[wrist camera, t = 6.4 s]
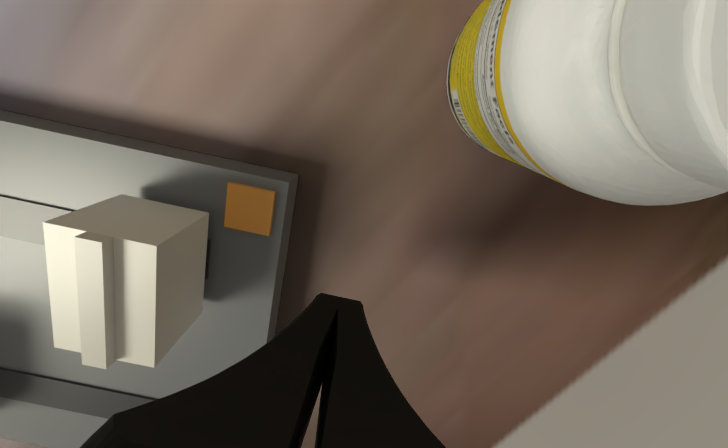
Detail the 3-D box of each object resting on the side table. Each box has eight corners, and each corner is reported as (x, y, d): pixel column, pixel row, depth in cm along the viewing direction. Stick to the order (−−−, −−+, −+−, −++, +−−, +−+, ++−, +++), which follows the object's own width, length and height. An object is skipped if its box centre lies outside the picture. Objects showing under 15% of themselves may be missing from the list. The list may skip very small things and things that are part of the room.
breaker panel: (256, 457, 19) (244, 491, 17) (-94, 386, 18) (-141, 414, 17) (298, 173, 14) (287, 183, 12) (-178, 71, 13) (-255, 67, 12)
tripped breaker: (202, 312, 14) (146, 377, 10) (123, 295, 14) (42, 356, 10) (209, 212, 12) (147, 252, 9) (121, 194, 12) (28, 227, 9)
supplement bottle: (635, -5, 11) (1758, -476, 2) (575, 166, 13) (1039, 324, 4) (464, -33, 11) (824, -630, 2) (427, 142, 13) (532, 240, 4)
